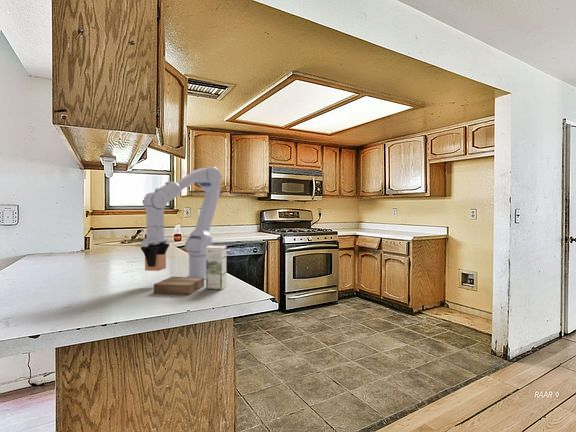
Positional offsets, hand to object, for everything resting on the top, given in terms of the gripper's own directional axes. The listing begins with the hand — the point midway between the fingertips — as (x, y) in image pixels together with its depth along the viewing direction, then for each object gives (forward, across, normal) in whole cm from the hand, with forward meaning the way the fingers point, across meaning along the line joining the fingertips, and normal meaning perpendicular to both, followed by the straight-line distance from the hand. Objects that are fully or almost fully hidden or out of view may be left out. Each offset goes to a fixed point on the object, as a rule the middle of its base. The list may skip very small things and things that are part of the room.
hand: (155, 265), depth 117 cm
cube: (+2, 0, 0) cm, 2 cm away
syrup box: (+8, 0, +22) cm, 23 cm away
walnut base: (+7, +4, +11) cm, 14 cm away
